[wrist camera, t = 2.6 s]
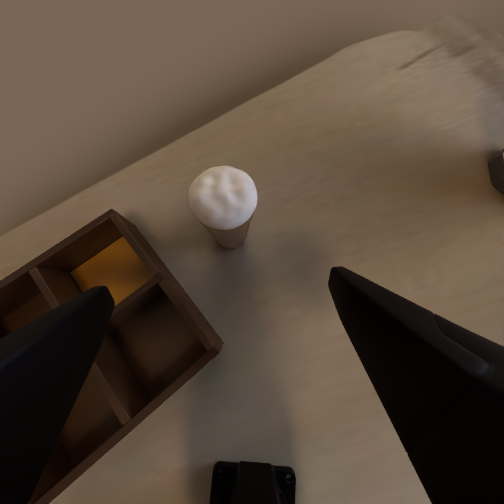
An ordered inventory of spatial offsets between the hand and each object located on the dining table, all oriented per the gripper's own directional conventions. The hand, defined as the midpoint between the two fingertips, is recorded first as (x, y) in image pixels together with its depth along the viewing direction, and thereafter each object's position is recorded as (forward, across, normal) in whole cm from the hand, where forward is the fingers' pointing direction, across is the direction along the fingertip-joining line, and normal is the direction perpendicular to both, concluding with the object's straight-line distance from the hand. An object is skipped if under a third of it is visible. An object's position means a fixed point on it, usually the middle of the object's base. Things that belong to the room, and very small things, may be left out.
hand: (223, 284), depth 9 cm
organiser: (+7, +12, +10) cm, 17 cm away
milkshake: (+13, 0, +5) cm, 14 cm away
